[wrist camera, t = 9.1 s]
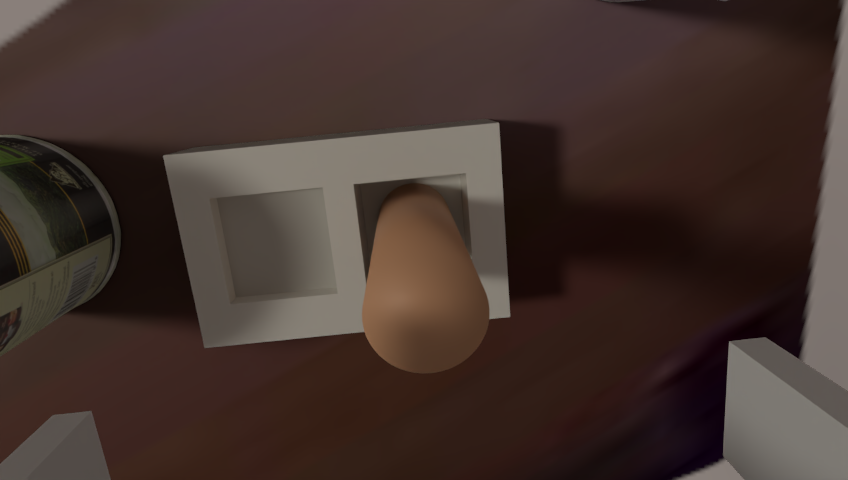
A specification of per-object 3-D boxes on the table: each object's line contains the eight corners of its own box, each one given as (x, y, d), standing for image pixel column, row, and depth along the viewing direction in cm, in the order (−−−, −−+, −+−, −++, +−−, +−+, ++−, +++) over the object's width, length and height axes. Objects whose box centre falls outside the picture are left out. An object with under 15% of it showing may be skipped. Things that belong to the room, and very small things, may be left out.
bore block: (228, 317, 32) (204, 348, 28) (194, 147, 30) (162, 155, 26) (497, 290, 32) (510, 316, 29) (486, 118, 30) (499, 122, 26)
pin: (382, 256, 31) (370, 379, 18) (374, 187, 30) (354, 261, 17) (452, 248, 31) (493, 366, 18) (446, 179, 30) (485, 247, 17)
